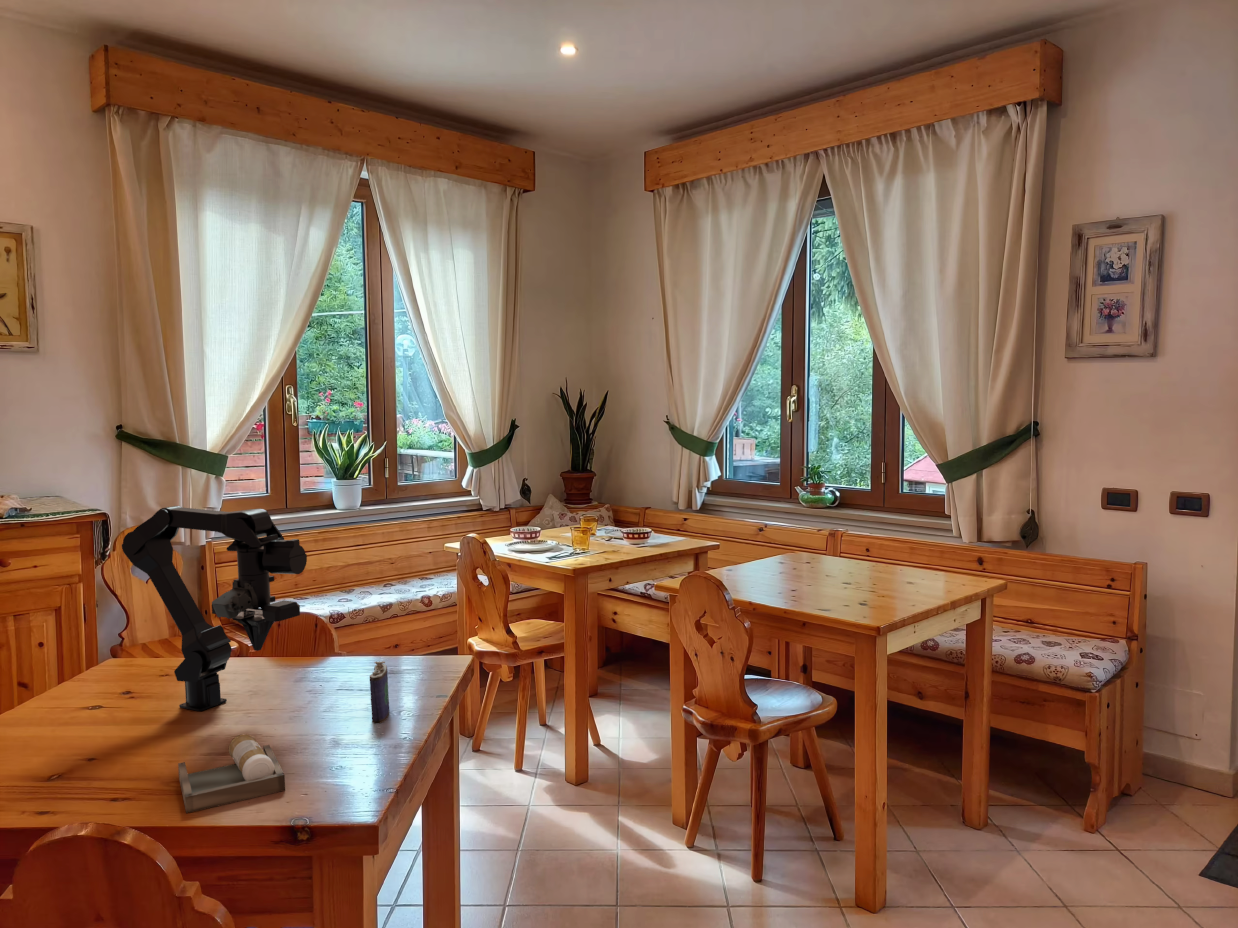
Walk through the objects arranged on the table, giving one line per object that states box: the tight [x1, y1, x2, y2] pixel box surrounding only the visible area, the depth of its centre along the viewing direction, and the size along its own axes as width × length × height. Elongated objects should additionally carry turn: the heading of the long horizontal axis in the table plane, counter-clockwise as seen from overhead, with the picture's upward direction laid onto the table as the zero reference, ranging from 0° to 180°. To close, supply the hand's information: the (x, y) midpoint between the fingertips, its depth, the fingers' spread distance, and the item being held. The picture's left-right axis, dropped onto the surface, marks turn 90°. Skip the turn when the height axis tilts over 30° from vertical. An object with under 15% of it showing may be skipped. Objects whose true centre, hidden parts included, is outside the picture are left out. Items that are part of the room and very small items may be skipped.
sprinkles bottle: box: [228, 733, 274, 781], centre depth 142 cm, size 5×5×13 cm
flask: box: [369, 661, 390, 725], centre depth 168 cm, size 9×3×11 cm, turn 8°
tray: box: [177, 744, 286, 814], centre depth 138 cm, size 14×14×2 cm
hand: (257, 650), depth 172 cm, fingers closed
